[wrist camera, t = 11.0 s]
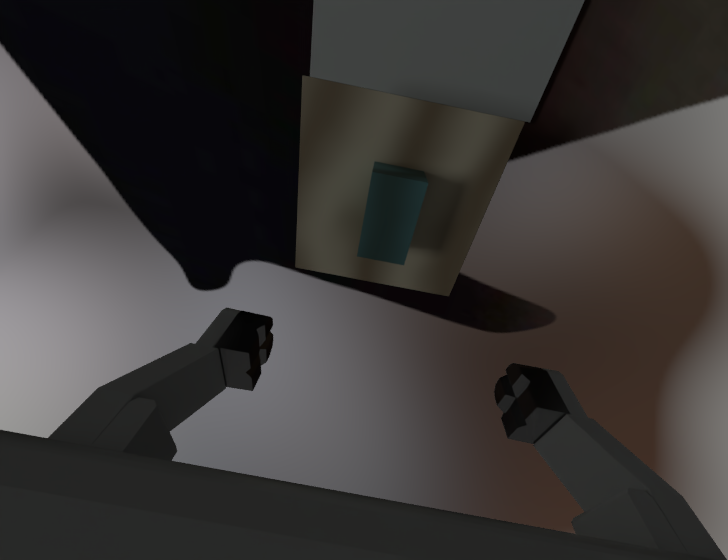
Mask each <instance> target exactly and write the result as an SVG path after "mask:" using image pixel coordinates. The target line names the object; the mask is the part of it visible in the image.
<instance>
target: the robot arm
mask: <svg viewBox="0 0 728 560" xmlns="http://www.w3.org/2000/svg"><path fill="white" fill-rule="evenodd" d="M272 326H273V319H272V318H271V317H268V316H264V315H259V314H254V313H250V312H245V311H239V310H235V309H230V308H225V309H223V310H222V311H221V312H220V313H219V315H218V316H217V317H216V319H215V320H214V321H213V322H212V324H211V325H210V326H209V327H208V329H207V330H206V331H205V333H204V334H203V335H202V336H201V337H200V339H199V340H198V341H197V343H196V344H192V343H190V344H188V345H186V346H184V347H182V348H180V349H178V350H175V351H173V352H172V353H169V354H167V355H165V356H163V357H161V358H159V359H157V360H155V361H153V362H151V363H149V364H147V365H144V366H142V367H140V368H138V369H136V370H134V371H132V372H130V373H128V374H126V375H124V376H122V377H120V378H118V379H116V380H114V381H111V382H109V383H107V384H105V385H103V386H101V387H99V388H98V389H96V391H94V393H92V395H91V396H90V397H89V398H87V399H86V400H85V402H83V403H82V404H81V405H80V407H79V408H77V409H76V410H75V412H74V413H73V414H71V416H69V417H68V419H66V421H65V422H63V424H61V425H60V426H59V427H58V428H57V430H55V431H54V432H53V434H51V435H50V437H49V438H42V437H37V436H31V435H26V434H20V433H14V432H9V431H3V430H0V560H727V559H726V558H725V556H724V555H723V554H722V552H721V551H720V549H719V548H718V546H717V545H716V543H715V542H714V541H713V539H712V538H711V536H710V535H709V534H708V532H707V531H706V529H705V528H704V526H703V525H702V523H701V522H700V521H699V519H698V518H697V516H696V515H695V513H694V512H693V511H692V509H691V508H690V506H689V505H688V504H687V502H686V501H685V499H684V498H683V497H682V496H681V495H680V494H679V493H678V492H677V491H676V490H674V489H673V488H672V487H671V486H670V485H669V484H668V483H666V482H665V481H664V480H663V479H662V478H661V477H659V476H658V475H657V474H656V473H655V472H654V471H652V470H651V469H650V468H649V467H648V466H647V465H645V464H644V463H643V462H642V461H641V460H640V459H639V458H637V457H636V456H635V455H634V454H633V453H632V452H630V451H629V450H628V449H627V448H626V447H624V445H622V444H621V443H620V442H619V441H618V440H617V439H615V438H614V437H613V436H612V435H611V434H610V433H609V432H607V431H606V430H605V429H604V428H603V427H601V426H600V425H599V424H598V423H597V422H596V421H595V420H594V419H590V418H588V417H587V415H586V413H585V412H584V410H583V408H582V407H581V405H580V403H579V402H578V400H577V398H576V396H575V395H574V393H573V391H572V390H571V388H570V386H569V384H568V383H567V381H566V379H565V378H564V376H563V375H562V374H561V373H560V372H559V371H554V370H548V369H542V368H538V367H532V366H527V365H521V364H516V363H512V364H510V365H509V366H508V367H507V369H506V373H507V375H505V376H503V377H501V378H499V380H498V381H497V383H496V385H495V391H494V393H495V400H496V403H497V406H498V407H499V408H500V409H501V410H502V411H503V415H502V418H501V419H502V422H503V425H504V428H505V432H506V435H507V438H508V439H513V440H517V441H522V442H527V443H531V444H534V445H533V446H534V447H535V448H536V449H537V451H538V452H539V453H540V455H541V456H542V457H543V459H544V460H545V461H546V462H547V464H548V465H549V466H550V468H551V469H552V470H553V471H554V473H555V474H556V475H557V477H558V478H559V479H560V481H561V482H562V483H563V484H564V486H565V487H566V488H567V490H568V491H569V492H570V494H571V495H572V496H573V497H574V499H575V500H576V501H577V502H578V504H579V505H580V506H581V508H582V509H583V510H584V513H582V514H580V515H578V516H577V517H575V518H573V520H572V522H571V523H572V525H573V528H574V530H575V533H576V534H573V533H567V532H562V531H556V530H551V529H545V528H540V527H534V526H528V525H523V524H518V523H512V522H506V521H501V520H496V519H490V518H485V517H479V516H474V515H468V514H463V513H457V512H451V511H446V510H440V509H435V508H429V507H424V506H418V505H413V504H407V503H402V502H396V501H390V500H385V499H380V498H374V497H368V496H363V495H358V494H352V493H347V492H341V491H336V490H330V489H324V488H319V487H314V486H308V485H302V484H297V483H291V482H286V481H280V480H275V479H268V478H264V477H258V476H253V475H247V474H241V473H236V472H231V471H225V470H219V469H213V468H208V467H203V466H197V465H191V464H186V463H181V462H175V461H172V459H173V457H174V455H175V454H176V452H177V449H176V445H175V443H174V441H173V439H172V436H171V435H170V431H171V430H172V429H173V428H175V427H176V426H177V425H179V424H180V423H181V422H183V421H184V420H185V419H187V418H188V417H189V416H191V415H192V414H193V413H194V412H196V411H197V410H198V409H200V408H201V407H202V406H204V405H205V404H206V403H207V402H209V401H210V400H211V399H213V398H214V397H215V396H216V395H218V394H219V393H220V392H222V391H223V390H224V389H225V388H226V387H231V388H237V389H244V390H251V391H253V389H254V387H255V385H256V383H257V381H258V379H259V377H260V375H261V365H263V364H264V363H266V362H267V360H268V358H269V355H270V352H271V349H272V345H273V334H272V333H271V332H270V330H271V328H272Z"/></svg>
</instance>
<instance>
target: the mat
mask: <svg viewBox="0 0 728 560" xmlns="http://www.w3.org/2000/svg"><path fill="white" fill-rule="evenodd" d="M584 1H585V0H314V6H313V26H312V46H311V67H310V77H315V78H319V79H324V80H329V81H334V82H339V83H343V84H348V85H353V86H358V87H362V88H367V89H372V90H377V91H382V92H386V93H391V94H396V95H401V96H406V97H410V98H415V99H420V100H425V101H430V102H434V103H439V104H444V105H449V106H453V107H458V108H463V109H468V110H473V111H477V112H482V113H487V114H492V115H497V116H501V117H506V118H511V119H516V120H521V121H525V122H530V121H531V119H532V117H533V115H534V112H535V110H536V108H537V106H538V103H539V101H540V99H541V97H542V95H543V92H544V90H545V88H546V86H547V83H548V81H549V79H550V77H551V74H552V72H553V70H554V68H555V65H556V63H557V61H558V59H559V57H560V54H561V52H562V50H563V48H564V45H565V43H566V41H567V39H568V36H569V34H570V32H571V30H572V27H573V25H574V23H575V21H576V19H577V16H578V14H579V12H580V10H581V7H582V5H583V3H584Z"/></svg>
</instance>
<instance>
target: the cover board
mask: <svg viewBox="0 0 728 560" xmlns="http://www.w3.org/2000/svg"><path fill="white" fill-rule="evenodd" d="M524 123H525V122H524V121H520V120H515V119H510V118H505V117H500V116H496V115H491V114H486V113H481V112H476V111H472V110H467V109H462V108H457V107H452V106H448V105H443V104H438V103H433V102H428V101H424V100H419V99H414V98H409V97H404V96H400V95H395V94H390V93H385V92H380V91H376V90H371V89H366V88H361V87H356V86H352V85H347V84H342V83H337V82H332V81H328V80H323V79H318V78H313V77H308V76H303V77H302V104H301V131H300V158H299V185H298V213H297V240H296V267H297V268H302V269H308V270H313V271H318V272H323V273H329V274H334V275H339V276H345V277H350V278H355V279H360V280H366V281H371V282H376V283H381V284H387V285H392V286H397V287H403V288H408V289H413V290H418V291H424V292H429V293H434V294H440V295H445V296H449V294H450V292H451V290H452V287H453V285H454V283H455V281H456V278H457V276H458V274H459V271H460V269H461V267H462V265H463V262H464V260H465V258H466V255H467V253H468V251H469V249H470V246H471V244H472V242H473V239H474V237H475V235H476V232H477V230H478V228H479V226H480V223H481V221H482V219H483V217H484V214H485V212H486V210H487V207H488V205H489V203H490V201H491V198H492V196H493V194H494V191H495V189H496V187H497V185H498V182H499V180H500V178H501V175H502V173H503V171H504V169H505V166H506V164H507V162H508V159H509V157H510V155H511V153H512V150H513V148H514V146H515V143H516V141H517V139H518V137H519V134H520V132H521V130H522V127H523V125H524Z"/></svg>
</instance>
